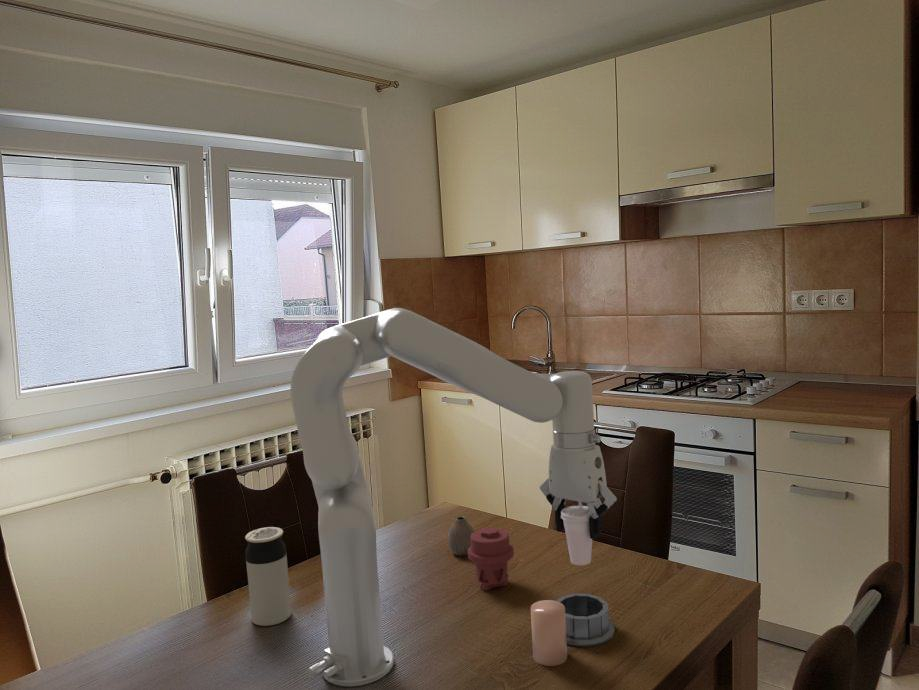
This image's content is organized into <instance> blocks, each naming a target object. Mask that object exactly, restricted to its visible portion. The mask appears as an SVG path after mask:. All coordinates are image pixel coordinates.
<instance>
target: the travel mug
mask: <svg viewBox="0 0 919 690" xmlns="http://www.w3.org/2000/svg"><path fill="white" fill-rule="evenodd" d="M283 534H284V530H283V529H282V528H280V527H275V526H268V527H267V526H266V527H261V528H257V529H253V530H252V531H251V530H250V531H249V532H248V533H247V534H246V535H245V536H244V539H245V540H246V541H247V546H246V549H245V564H246V573H247V587H248V594H249V605H250V615H251V616H250V618H251V622H252V623H253V624H255V625H257V626H261V627H270V626H275V625H279V624H281V623H283V622H285V621H286V620H288V619H289V618H290V617H291V616H292V605H291V604H292V602H291V591H290V590H291V589H290V580H289V568H288V557H287V546H286V544H285V543H284V541H283V539H282V537H283Z"/></svg>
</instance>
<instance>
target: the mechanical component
mask: <svg viewBox="0 0 919 690" xmlns="http://www.w3.org/2000/svg"><path fill="white" fill-rule="evenodd" d="M514 550H515V549H514V547H513V545H512V544H511V543H510V534H509V532H508V531H506V530H504V529H502V528H501V529H500V528H496V527H491V526H490V527H489V526H488V527H484V528H482V529H478V530H475V532H474V533H472V534H471V546H470V547H469V548H468V555H467V557H468V560H470V561H471V562H472V563H474V565H475V568H476V569H475V580H476V581H477V582H479V583H480V584H481V589H482V590H483V591H489V590H492V589H494V588H498V587H505V586H507V585H508V583H509V582H508V578H509V575H508V562H509V561H510V560H512V559H513V558H514V554H515V551H514Z"/></svg>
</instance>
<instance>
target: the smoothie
mask: <svg viewBox="0 0 919 690" xmlns="http://www.w3.org/2000/svg"><path fill="white" fill-rule="evenodd" d="M582 503H583V502H578V505H571V506H566V508H564V509H562V510H561V518H562V519H563V522H564V527H565V529H564V531H565V532H564V533H565V538H566V543H567V547H568V554H569V559H570V560H569V561H570V563H571V564H573V565H574V566H587V565H589V564H591V561H592V552H593V551H592V550H593V549H592V547H593V539H591V538H590V530H589V518H590V517H592V516H591V513H590V511H589V508H588V506H587V505H586V506H585V505H583V504H582Z"/></svg>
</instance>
